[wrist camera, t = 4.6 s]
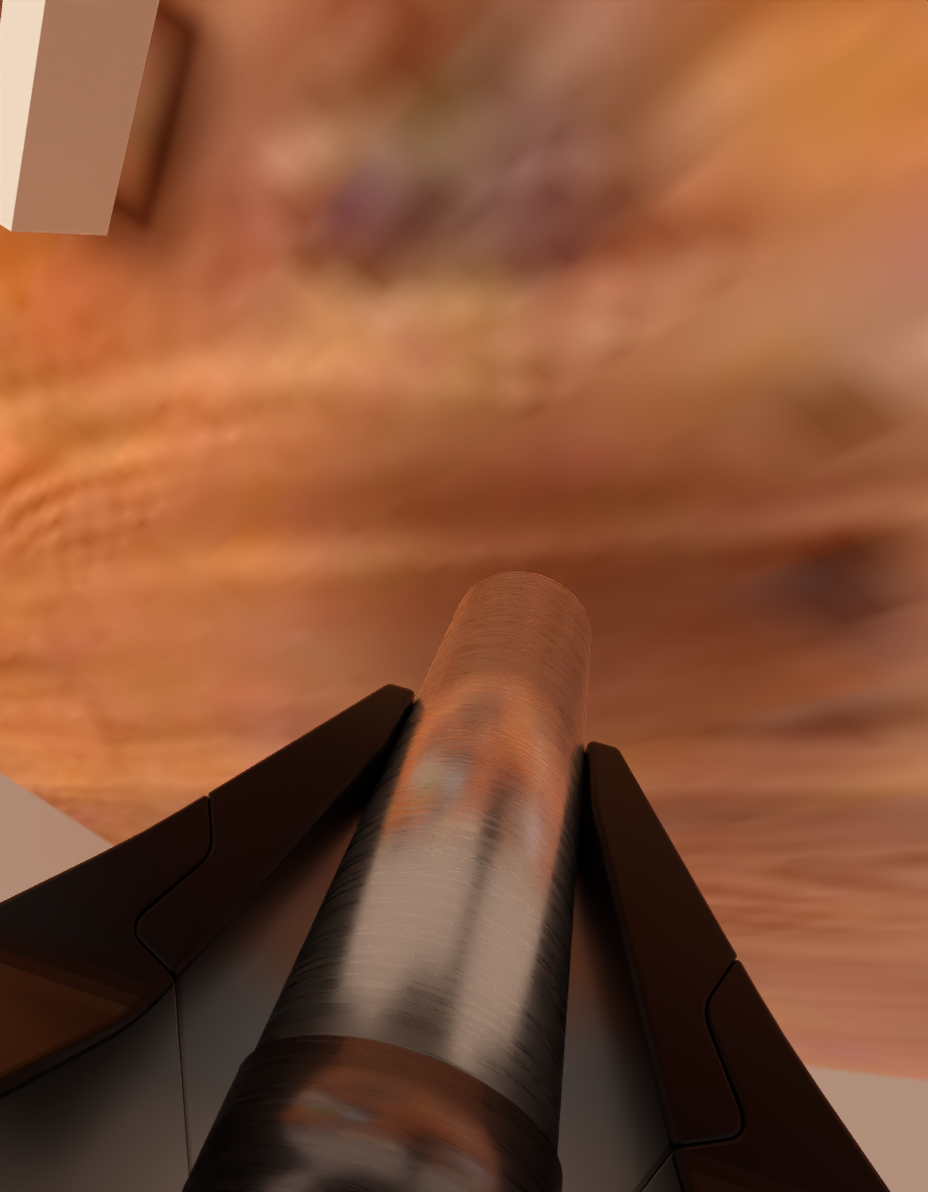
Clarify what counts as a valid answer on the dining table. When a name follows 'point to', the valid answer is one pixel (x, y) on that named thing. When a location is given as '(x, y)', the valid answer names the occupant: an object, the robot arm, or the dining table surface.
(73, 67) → the lever
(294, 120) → the dining table surface
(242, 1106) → the metal cylinder
